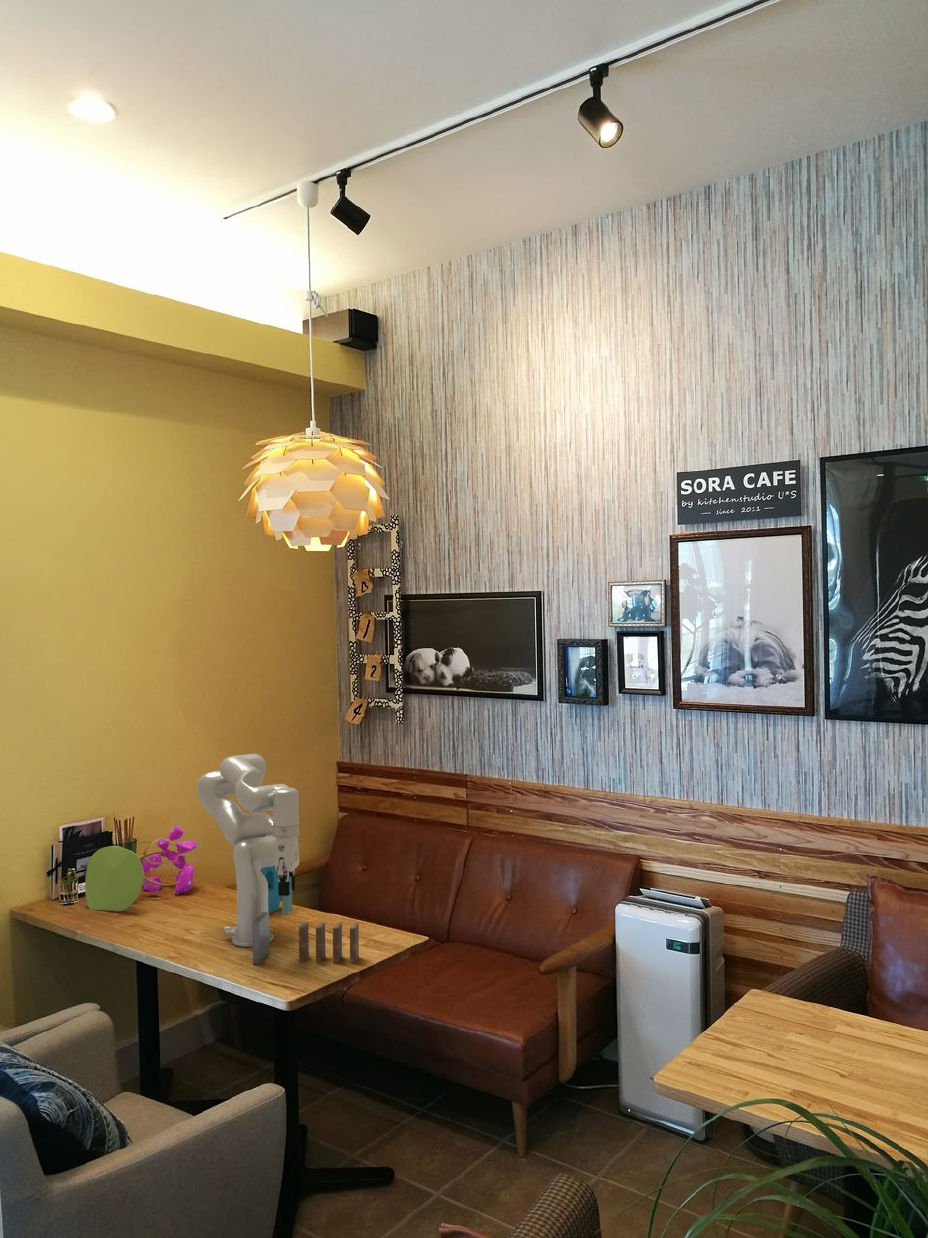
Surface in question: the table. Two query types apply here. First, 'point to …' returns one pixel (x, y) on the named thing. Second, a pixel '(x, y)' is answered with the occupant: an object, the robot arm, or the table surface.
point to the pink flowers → (134, 872)
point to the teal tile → (287, 900)
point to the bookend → (260, 937)
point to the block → (272, 888)
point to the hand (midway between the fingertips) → (286, 892)
